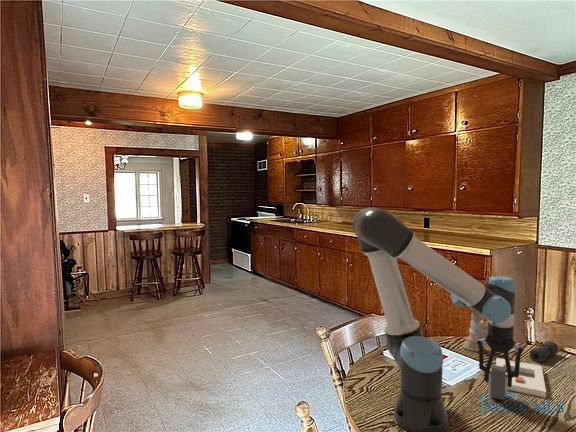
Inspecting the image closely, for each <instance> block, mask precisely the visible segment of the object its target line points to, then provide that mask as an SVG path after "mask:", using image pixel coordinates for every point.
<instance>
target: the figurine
mask: <svg viewBox="0 0 576 432" xmlns="http://www.w3.org/2000/svg"><path fill="white" fill-rule="evenodd" d="M471 311H472V312H471V314H470V315H471V316H470V327H469V329H468V333H469V335H468V336H467V337H466V339H465V342H464V343H463V345H462V347H463V348H464V349H466V350H468V351H471V352H478V353H479V346H478V344H477V340H478V339H479V338H480V339H484V338H486V336H487V326H488V325H487V324H486V323H485V321H484V320H483V319H484V317H483V316H482V315H480V314H479V313H477V312H476V311H474V310H473V309H471Z"/></svg>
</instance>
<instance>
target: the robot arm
mask: <svg viewBox="0 0 576 432" xmlns="http://www.w3.org/2000/svg"><path fill="white" fill-rule="evenodd" d="M352 229H353V233H354V235H355V236H356V237H357V240H358V243H359V248H360V250H361V253H362V254H364V255H365V256H367V259H368V261H369V264H370V268H371V272H372V275H373V278H374V282H375V285H376V289H377V294H378V297H379V300H380V304H381V306H382V309H383V314H384V317H385V322H386V325H385V327H384V334H385V337H386V347H387V350H388V352H389V354H390V356H391V357H392V358H393V359H394V361H395V363H396V365H397V366H398V368H399V370H400V371H399V372H400V392H399V395H398V396H397V397H398V398H397V400H396V403H395V406H394V409H393V410H394V411H393V413H394V414H393V415H394V416H393V417H394V420H395V422H396V423H397V424H398V425H399V426H400V427H402V428H403V429H405V430H406V431H408V432H445V431H446V430H447V429H448V427H449V416H448V413H447V410H446V406H445V404H444V401H443V393H442V392H443V365H444V356H443V350H442V348H441V346H440V345H439V343H438V342H436V341H435V340H434V339H429V338H428V337H426V336H424V333H423V330H422V327H421V324H420V321H419V320H417V319H416V318H414V317H413V313H412V310H411V306H410V305H411V304H410V302H409V298H408V296H407V295H408V294H407V291H406V288H405V285H404V282H403V278H402V274H401V270H400V268H399V264H398V261H397V259H401V261H403V262H404V263H407V264H408V265H409V266H411V267H412V268H414V269H415V270H416V271H417V272H419V273H421V274H422V275H424V276H425V277H426V278H428V279H429V280H431V281H433V283H435V284H436V285H438V286H439V287H440V288H442V289H444V290H445V291H446V292H448V293H450V299H451V302H452V303H453V305H454V306H457V307H462V308H465V307H468V308H470V309H471V310H472V309H473V310H474V311H476V312H477V313H479V314H480V315H482V316H483V319H485V320H487V322H488V323H487V325H486V326H487V330H486V333H487V336H486V337H484V338H483V339H480V338H479V339H478V340H477V344H478V346H479V352H478V369H479V370H480V371H483V372H484V381H485V382H486V383H488V389H487V393H488V394H490V395H491V371H492V370H491V369H492V365H493V360H494V357H495V353H500V354H503V359H505V364H506V369H507V374H508V375H507V374H506V376H505V398H508V390H507V388H508V387H511V386H512V378H513V377H519V367H520V362H521V355H522V354H523V352H524V346H523V345H519V344H517V343H516V342H515V340H514V331H515V330H514V329H515V328H514V324H515V304H516V303H515V302H516V294H517V293H516V281H515V279H513V278H512V277H509V276H501V275H493V276H490V277H489V278H488V282H484V283H483V282H482V283H481V282H479V280H477V279H475V278H474V277H473V276H471V275H470V274H468V273H467V272H465V271H464V270H463V269H462V268H460V267H458V266H457V265H456V264H455V263H453V262H452V261H450V260H448V259H447V258H445V257H444V256H443V255H441V254H440V253H439V252H438V251H436V250H434V249H433V248H431V247H430V246H429V245H428V244H426V243H425V242H423V241H421V240H420V239H419V238H417V237H416V234H415V231H413V230H412V229H411V228H409V227H408V226H407V225H405V224H404V223H403V222H402V221H401V220H400V219H398V218H397V217H396V216H395V215H394V214H393V213H392V212H390V211H388V210H387V209H384V208H379V207H376V206H375V207H374V206H370V207H366V208H363V209H362V210H360V211H359V212H358V213H357V214H356V215H355V217H354V219H353V222H352ZM486 344H487V345H488V347H489V348H490V350H489V351H490V352H489V355H488V358H487V362H486V365H484V363H485V361H484V359H485V357H484V355H485V354H484V353H485V352H484V351H485V347H484V346H486ZM513 348H514V352H515V360H514V361H515V370H514V372H512V370H511V365H510V360H511V359H510V355H509V352H510V351H511V350H512V349H513Z"/></svg>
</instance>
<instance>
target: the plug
mask: <svg viewBox="0 0 576 432" xmlns="http://www.w3.org/2000/svg"><path fill="white" fill-rule="evenodd" d="M490 371H491V394H490V397H491V398H495V399H496V400H497V399H498V400H502V401H505V399H506V397H505V376H506V367H502V366H497V365H496V364H491V370H490Z"/></svg>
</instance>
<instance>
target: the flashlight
mask: <svg viewBox="0 0 576 432" xmlns="http://www.w3.org/2000/svg"><path fill="white" fill-rule="evenodd" d="M559 351H560V347H559V345H558V344H557V342H555V341H553V340H547V341H545V342H543V343H542V344H540V346H539V347H534V348H533V349H531V350H530V351H529V358H530V360H532V361H533V362H535V363H542V362H544V361H545V360H546V359H547V358H548V357H552V356H555V355H556V354H559Z"/></svg>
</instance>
